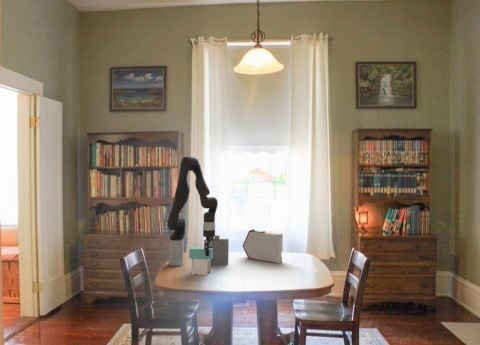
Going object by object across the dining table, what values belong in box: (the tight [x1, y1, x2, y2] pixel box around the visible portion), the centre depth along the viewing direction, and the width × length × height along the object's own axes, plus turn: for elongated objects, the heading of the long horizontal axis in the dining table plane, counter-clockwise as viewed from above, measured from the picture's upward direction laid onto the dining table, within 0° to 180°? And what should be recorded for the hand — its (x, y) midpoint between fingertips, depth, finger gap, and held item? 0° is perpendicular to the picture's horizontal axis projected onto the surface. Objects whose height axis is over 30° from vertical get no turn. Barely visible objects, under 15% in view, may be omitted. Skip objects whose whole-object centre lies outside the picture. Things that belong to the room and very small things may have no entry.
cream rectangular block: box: [191, 258, 211, 276], centre depth 221 cm, size 10×8×10 cm
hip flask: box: [206, 234, 230, 266], centre depth 242 cm, size 16×4×20 cm, turn 86°
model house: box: [242, 229, 284, 264], centre depth 257 cm, size 21×9×30 cm
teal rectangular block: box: [188, 246, 213, 260], centre depth 221 cm, size 14×4×6 cm, turn 83°
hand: (208, 254), depth 220 cm, fingers open, 8 cm apart
